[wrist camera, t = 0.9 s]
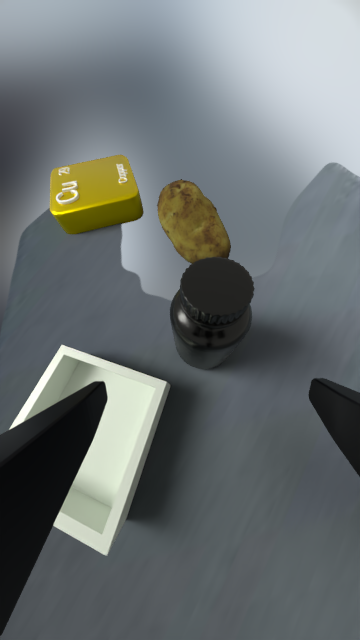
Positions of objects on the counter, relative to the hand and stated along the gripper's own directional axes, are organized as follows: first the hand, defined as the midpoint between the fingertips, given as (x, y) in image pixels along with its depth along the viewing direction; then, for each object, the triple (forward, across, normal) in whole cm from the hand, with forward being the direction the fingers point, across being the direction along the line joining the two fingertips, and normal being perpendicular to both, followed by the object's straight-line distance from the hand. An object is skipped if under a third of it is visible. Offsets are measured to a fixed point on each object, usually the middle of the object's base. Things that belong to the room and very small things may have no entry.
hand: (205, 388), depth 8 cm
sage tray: (+8, +10, +11) cm, 17 cm away
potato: (+25, 0, -8) cm, 26 cm away
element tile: (+34, +17, -18) cm, 42 cm away
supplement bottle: (+14, -1, +4) cm, 15 cm away
